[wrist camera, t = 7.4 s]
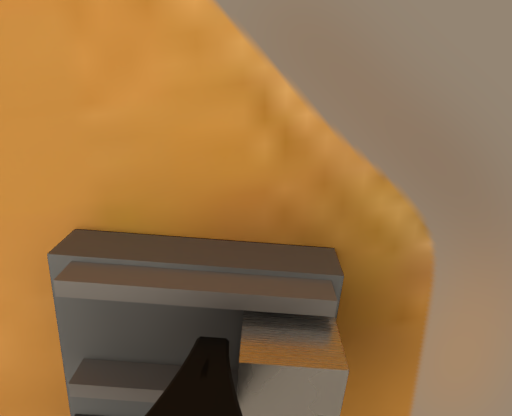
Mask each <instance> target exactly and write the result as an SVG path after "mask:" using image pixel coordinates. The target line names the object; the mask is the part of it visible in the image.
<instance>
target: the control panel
mask: <svg viewBox="0 0 512 416" xmlns="http://www.w3.org/2000/svg"><path fill="white" fill-rule="evenodd" d="M47 256H48V263H49V270H50V277H51V284H52V291H53V297H54V304H55V311H56V318H57V325H58V332H59V338H60V345H61V352H62V359H63V366H64V373H65V379H66V386H67V393H68V400H69V407H70V414H71V416H145V415H146V414H147V412H148V411H149V410H150V409H151V407H152V406H153V405H154V404H155V402H156V401H157V400H158V398H159V397H160V396H161V395H162V393H163V392H164V391H165V389H166V388H167V387H168V385H169V384H170V382H171V381H172V379H173V378H174V377H175V375H176V374H177V372H178V371H179V369H180V368H181V366H182V365H183V363H184V361H185V360H186V358H187V356H188V355H189V353H190V351H191V349H192V348H193V346H194V344H195V342H196V340H197V338H199V337H200V336H202V337H216V338H226V339H227V340H228V341H229V359H230V367H231V373H232V378H233V382H234V387H235V391H236V395H237V384H238V369H239V357H240V345H241V334H242V323H243V311H244V310H245V311H259V312H273V313H286V314H300V315H314V316H327V317H335V319H336V318H337V312H338V307H339V301H340V295H341V290H342V284H343V278H344V275H343V272H342V269H341V266H340V263H339V261H338V258H337V255H336V252H335V249H334V248H322V247H309V246H295V245H282V244H268V243H255V242H241V241H227V240H214V239H200V238H187V237H173V236H160V235H146V234H133V233H119V232H106V231H92V230H79V229H75V230H73V231H72V232H71V233H70V234H69V235H68V236H67V237H66V238H64V239H63V240H62V241H61V242H60V243H59V244H58V245H57V246H56V247H54V248H53V249H52V250H51V251H50V252H49V253H48V254H47Z"/></svg>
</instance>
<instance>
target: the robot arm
mask: <svg viewBox="0 0 512 416" xmlns="http://www.w3.org/2000/svg"><path fill="white" fill-rule="evenodd" d="M145 416H243V415H242V412H241V409H240V406H239V402H238V399H237V395H236V391H235V387H234V382H233V378H232V373H231V367H230V359H229V341H228V340H227V339H226V338H216V337H202V336H200V337H199V338H197V340H196V342H195V344H194V346H193V348H192V349H191V351H190V353H189V355H188V356H187V358H186V360H185V361H184V363H183V365H182V366H181V368H180V369H179V371H178V372H177V374H176V375H175V377H174V378H173V379H172V381H171V382H170V384H169V385H168V387H167V388H166V389H165V391H164V392H163V393H162V395H161V396H160V397H159V398H158V400H157V401H156V402H155V404H154V405H153V406H152V407H151V409H150V410H149V411H148V412H147V414H146V415H145Z"/></svg>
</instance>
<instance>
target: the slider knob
mask: <svg viewBox="0 0 512 416" xmlns="http://www.w3.org/2000/svg"><path fill="white" fill-rule="evenodd" d="M348 374H349V368H348V364H347V361H346V357H345V353H344V349H343V346H342V342H341V338H340V334H339V331H338V327H337V323H336V319H335V317H327V316H314V315H300V314H286V313H273V312H259V311H245V310H244V311H243V323H242V334H241V345H240V357H239V369H238V384H237V399H238V402H239V406H240V409H241V412H242V415H243V416H340V413H341V408H342V403H343V398H344V393H345V388H346V383H347V378H348Z"/></svg>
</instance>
